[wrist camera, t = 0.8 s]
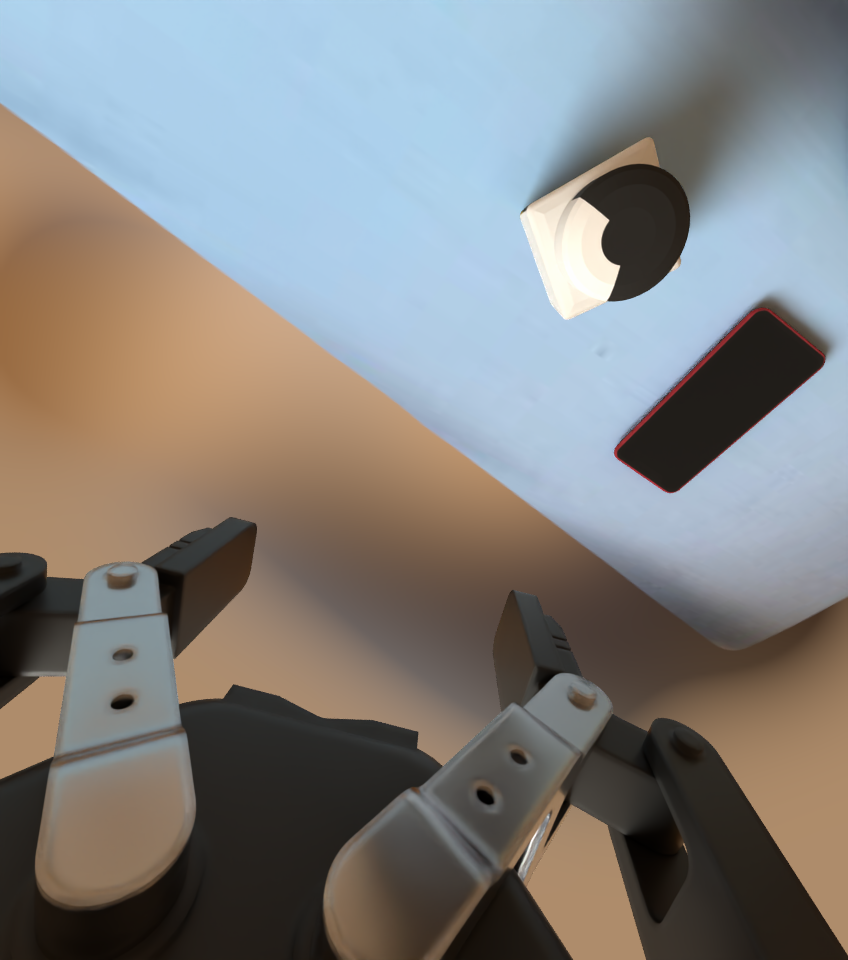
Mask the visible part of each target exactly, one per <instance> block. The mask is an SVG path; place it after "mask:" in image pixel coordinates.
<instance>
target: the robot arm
mask: <svg viewBox="0 0 848 960" xmlns="http://www.w3.org/2000/svg"><path fill="white" fill-rule="evenodd" d="M256 533H257V526H256V524H255V523H252V522H249V521H245V520H241V519H237V518H233V517H230V518H228V519H226V520H225V521H223V522H222V523H220V524H219V525H217V526H216V527H214V528H213V529H212V528H205V529H201V530H198V531H194V532H191V533H189V534H187V535H186V536H184V537H183V538H181V539H180V540H179V541H176V542H174V543H173V544H171V545H170V546H169V547H167V548H165V549H163V550H161V551H160V552H158V553H156V554H155V555H153V556H152V557H150V558H148V559H147V560H145V561H143V562H142V563H137V562H115V563H110V564H105V565H102V566H99V567H97V568H94V569H93V570H91V571H89V572H88V573H87V574H86V576H85V578H84V579H72V578H56V577H47V562H46V561H45V560H44V559H43V558H42V557H40V556H37V555H34V554H28V553H0V709H1V708H2V707H3V706H5V705H6V704H7V703H8V702H10V701H11V700H12V699H13V698H14V697H16V696H17V695H18V694H20V693H21V692H22V691H23V690H24V689H26V688H27V687H28V686H29V685H31V684H32V683H33V682H34V681H35V680H37V679H38V678H39V677H40V676H66V682H65V688H64V695H63V701H62V707H61V714H60V720H59V727H58V734H57V740H56V746H55V753H54V757H51V758H49V759H47V760H44V761H42V762H40V763H37V764H35V765H33V766H30V767H28V768H26V769H24V770H21V771H19V772H16V773H14V774H12V775H10V776H7V777H5V778H2V779H0V960H573V959H572V957H571V956H570V954H569V953H568V951H567V950H566V948H565V947H564V945H563V943H562V942H561V940H560V939H559V937H558V936H557V934H556V933H555V931H554V929H553V928H552V926H551V925H550V923H549V922H548V920H547V919H546V917H545V916H544V914H543V913H542V911H541V909H540V908H539V907H538V905H537V903H536V902H535V900H534V899H533V897H532V896H531V894H530V892H529V891H528V890H527V888H526V886H527V884H528V882H529V880H530V878H531V876H532V874H533V872H534V870H535V869H536V867H537V865H538V863H539V861H540V860H541V858H542V856H543V854H544V853H545V851H546V850H547V848H548V846H549V844H550V843H551V841H552V839H553V838H554V836H555V834H556V832H557V831H558V829H559V827H560V826H561V824H562V822H563V821H564V819H565V817H566V816H567V814H568V812H569V810H570V809H571V806H572V805H574V806H575V807H577V808H579V809H581V810H582V811H584V812H586V813H588V814H590V815H591V816H593V817H595V818H597V819H598V820H600V821H602V822H604V823H605V824H607V825H608V828H609V832H610V836H611V840H612V843H613V846H614V850H615V853H616V857H617V860H618V864H619V867H620V871H621V874H622V878H623V881H624V884H625V888H626V891H627V895H628V898H629V902H630V905H631V909H632V912H633V916H634V919H635V922H636V926H637V929H638V933H639V936H640V940H641V943H642V946H643V950H644V954H645V957H646V960H848V955H847V954H846V952H845V950H844V949H843V947H842V946H841V944H840V943H839V941H838V940H837V938H836V936H835V935H834V933H833V932H832V930H831V929H830V927H829V925H828V924H827V922H826V921H825V919H824V918H823V916H822V915H821V913H820V911H819V910H818V908H817V907H816V905H815V904H814V902H813V901H812V899H811V898H810V896H809V894H808V893H807V891H806V890H805V888H804V887H803V885H802V883H801V882H800V880H799V879H798V877H797V876H796V874H795V872H794V871H793V869H792V868H791V866H790V865H789V863H788V861H787V860H786V858H785V857H784V855H783V854H782V852H781V851H780V849H779V847H778V846H777V844H776V843H775V841H774V840H773V838H772V837H771V835H770V833H769V832H768V831H767V829H766V827H765V826H764V824H763V823H762V821H761V819H760V818H759V816H758V815H757V813H756V812H755V810H754V808H753V807H752V805H751V804H750V802H749V801H748V799H747V798H746V796H745V794H744V793H743V791H742V790H741V788H740V787H739V785H738V784H737V782H736V780H735V779H734V777H733V776H732V774H731V773H730V771H729V769H728V768H727V766H726V765H725V763H724V762H723V760H722V759H721V757H720V755H719V754H718V753H717V751H716V750H715V749H714V748H713V746H712V745H711V744H710V743H709V742H708V741H707V740H706V739H704V738H703V737H702V736H701V735H700V734H698V733H697V732H695V731H694V730H692V729H691V728H689V727H687V726H686V725H683V724H681V723H679V722H677V721H674V720H671V719H666V718H658V719H655V720H654V721H653V723H652V725H651V727H650V729H649V731H648V732H647V731H645V730H643V729H641V728H639V727H637V726H635V725H633V724H631V723H629V722H627V721H624V720H622V719H621V718H618V717H617V716H615V715H614V714H612V713H613V707H612V704H611V701H610V700H609V698H608V697H607V695H606V694H605V693H604V692H603V691H602V690H601V689H600V688H599V687H597V686H596V685H594V684H593V683H592V682H590V681H588V680H586V679H585V678H583V676H582V674H581V671H580V669H579V667H578V664H577V662H576V660H575V658H574V655H573V653H572V652H571V648H570V646H569V643H568V642H567V639H566V636H565V634H564V632H563V630H562V628H561V627H560V625H558V623H557V622H556V621H555V620H554V619H553V618H552V617H551V616H548V615H544V614H543V611H542V608H541V606H540V603H539V601H538V598H537V596H534V595H530V594H526V593H523V592H518V591H515V590H512V591H511V592H510V594H509V596H508V599H507V602H506V605H505V608H504V611H503V614H502V617H501V620H500V623H499V626H498V629H497V632H496V635H495V639H494V645H493V657H494V665H495V671H496V678H497V685H498V692H499V698H500V705H501V713H500V714H499V715H498V716H497V717H496V718H495V719H494V720H493V721H492V722H491V723H489V724H488V725H487V726H486V727H485V728H484V729H483V730H482V731H481V732H480V733H479V734H478V735H477V736H475V737H474V738H473V739H472V740H471V741H470V742H469V743H468V744H467V745H466V746H465V747H464V748H462V749H461V750H460V751H459V752H458V753H457V754H456V755H455V756H454V757H453V758H452V759H451V760H449V762H447V763H446V764H445V765H444V766H442V765H441V764H440V763H438V762H437V761H436V760H435V759H434V758H432V757H431V756H429V755H428V754H426V753H424V752H423V751H421V750H419V749H417V741H418V732H417V731H412V730H409V729H405V728H401V727H397V726H393V725H389V724H386V723H382V722H378V721H374V720H353V719H352V720H351V719H327V718H321V717H319V716H316V715H315V714H313V713H311V712H309V711H307V710H305V709H303V708H301V707H299V706H297V705H295V704H293V703H291V702H289V701H287V700H286V699H284V698H281V697H280V696H277V695H273V694H269V693H265V692H261V691H257V690H253V689H249V688H245V687H241V686H238V685H233V686H232V687H231V688H230V690H229V691H228V693H227V694H226V696H225V697H224V698H223V699H204V700H196V701H191V702H186V703H182V704H179V703H178V696H177V688H176V680H175V671H174V664H173V659H175V658H176V657H177V656H178V655H179V654H180V653H181V652H182V651H183V650H184V649H185V648H186V647H187V646H188V645H189V644H190V643H191V642H192V641H193V640H194V639H195V638H196V637H197V635H198V634H199V633H200V632H201V631H202V630H203V629H204V628H205V627H206V626H207V625H208V624H209V623H210V622H211V621H212V620H213V619H214V618H215V617H216V616H217V615H218V614H219V613H220V612H221V611H222V610H223V609H224V608H225V606H226V605H227V604H228V603H229V602H230V601H231V600H232V599H233V598H234V597H235V596H236V595H237V594H238V593H239V592H240V591H241V590H242V589H243V587H244V586H245V584H246V582H247V580H248V577H249V575H250V571H251V565H252V558H253V552H254V546H255V539H256ZM683 843H685V846H686V849H687V852H686V850H685V848H684V846H683ZM687 854H688V855H687Z"/></svg>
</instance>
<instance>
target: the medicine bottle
mask: <svg viewBox="0 0 848 960" xmlns="http://www.w3.org/2000/svg"><path fill="white" fill-rule="evenodd" d="M520 219H521V222H522V225H523V227H524V230H525V233H526V236H527V239H528V241H529V244H530V247H531V250H532V253H533V255H534V258H535V261H536V264H537V267H538V269H539V272H540V275H541V278H542V281H543V283H544V286H545V289H546V292H547V295H548V297H549V300H550V303H551V304H552V306H553V307H554V308H555V309H556V310H557V311H558V312H559V313H560V315H561V316H562V317H563V318H564V319H566V320H568V319H571V318H573V317H575V316H578V315H580V314H582V313H584V312H586V311H588V310H590V309H592V308H595V307H597V306H599V305H601V304H603V303H605V302H607V301H623V300H627V299H631V298H634V297H636V296H639V295H641V294H643V293H645V292H646V291H648V290H650V289H651V288H652V287H654V286H655V285H657V284H658V283H659V282H660V281H661V280H662V279H663V278H664V277H665V276H666V275H667V274H668V273H669V272H671V271H673V270H675V269H677V268H678V267H679V266H680V264H681V259H680V255H681V253H682V251H683V249H684V246H685V243H686V240H687V237H688V232H689V226H690V210H689V204H688V200H687V196H686V194H685V192H684V189H683V188H682V186H681V185H680V183H679V182H678V181H677V180H676V179H675V177H674V176H673V175H671V174H670V173H669V172H667V171H666V170H664V169H662V168H660V166H659V162H658V158H657V153H656V149H655V144H654V141H653V139H652V138H649V137H647V138H644V139H642V140H641V141H639V142H637V143H636V144H634V145H632V146H630V147H629V148H627V149H625V150H623V151H622V152H620V153H618V154H616V155H615V156H613V157H611V158H610V159H608V160H606V161H604V162H603V163H601V164H599V165H597V166H596V167H594V168H592V169H590V170H589V171H587V172H585V173H583V174H582V175H580V176H578V177H577V178H575V179H573V180H571V181H570V182H568V183H566V184H564V185H563V186H561V187H559V188H557V189H556V190H554V191H552V192H551V193H549V194H547V195H545V196H544V197H542V198H540V199H538V200H537V201H535V202H533V203H531V204H530V205H529V206H527V207H526V208H525V209H524V210H523V211H522V212H521V214H520Z"/></svg>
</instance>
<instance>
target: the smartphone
mask: <svg viewBox="0 0 848 960" xmlns="http://www.w3.org/2000/svg"><path fill="white" fill-rule="evenodd" d="M824 363H825V355H824V354H823V353H822V352H821V351H820V350H818V349H817V348H816V347H815V346H814V345H812V344H811V343H810V342H809V341H808V340H806V339H805V338H804V337H803V336H802V335H800V334H799V333H798V332H797V331H795V330H794V329H793V328H792V327H791V326H789V325H788V324H787V323H786V322H785V321H783V320H782V319H781V318H780V317H779V316H777V315H776V314H775V313H774V312H772V311H771V310H770V309H768V308H757V309H755V310H753V311H751V312H750V313H749V314H748V315H747V316H746V317H745V318H744V319H743V320H742V321H741V322H740V323H739V324H738V325H737V326H736V327H735V328H734V329H733V330H732V331H731V332H730V333H729V334H728V335H727V336H726V337H725V338H724V339H723V340H722V341H721V342H720V343H719V344H718V345H717V346H716V347H715V348H714V349H713V350H712V351H711V352H710V353H709V354H708V355H707V356H706V357H705V358H704V359H703V360H702V361H701V362H700V363H699V364H698V365H697V366H696V367H695V368H694V369H693V370H692V371H691V372H690V373H689V374H688V375H687V376H686V377H685V378H684V379H683V380H682V381H681V382H680V383H679V384H678V385H677V386H676V387H675V388H674V389H673V390H672V391H671V392H670V393H669V394H668V395H667V396H666V397H665V398H664V399H663V400H662V401H661V402H660V403H659V404H658V405H657V406H656V407H655V408H654V409H653V410H652V411H651V412H650V413H649V414H648V415H647V416H646V417H645V418H644V419H643V420H642V421H641V422H640V423H639V424H638V425H637V426H636V427H635V428H634V429H633V430H632V431H631V432H630V433H629V434H628V435H627V436H626V437H625V438H624V439H623V440H622V441H621V442H620V443H619V444H618V445H617V446H616V448H615V450H614V455H615V457H616V458H617V459H618V460H619V461H621V462H622V463H624V464H625V465H627V466H628V467H630V468H631V469H632V470H634V471H635V472H637V473H638V474H640V475H641V476H643V477H644V478H646V479H647V480H648V481H650V482H651V483H653V484H654V485H656V486H657V487H659V488H660V489H662V490H663V491H665V492H667V493H674V492H677V491H679V490H680V489H681V488H682V487H683V486H685V485H686V484H687V483H688V482H689V481H690V480H692V479H693V478H694V477H695V476H696V475H697V474H699V473H700V472H701V471H702V470H703V469H704V468H706V467H707V466H708V465H709V464H710V463H711V462H713V461H714V460H715V459H716V458H717V457H718V456H720V455H721V454H722V453H723V452H724V451H725V450H727V449H728V448H729V447H730V446H731V445H732V444H734V443H735V442H736V441H737V440H738V439H739V438H741V437H742V436H743V435H744V434H745V433H746V432H748V431H749V430H750V429H751V428H752V427H753V426H755V425H756V424H757V423H758V422H759V421H760V420H762V419H763V418H764V417H765V416H766V415H767V414H769V413H770V412H771V411H772V410H773V409H774V408H776V407H777V406H778V405H779V404H780V403H781V402H783V401H784V400H785V399H786V398H787V397H789V396H790V395H791V394H792V393H793V392H794V391H796V390H797V389H798V388H799V387H800V386H801V385H803V384H804V383H805V382H806V381H807V380H808V379H810V378H811V377H812V376H813V375H814V374H815V373H817V372H818V371H819V370H820V369H821V368H822V367H823V365H824Z"/></svg>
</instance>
